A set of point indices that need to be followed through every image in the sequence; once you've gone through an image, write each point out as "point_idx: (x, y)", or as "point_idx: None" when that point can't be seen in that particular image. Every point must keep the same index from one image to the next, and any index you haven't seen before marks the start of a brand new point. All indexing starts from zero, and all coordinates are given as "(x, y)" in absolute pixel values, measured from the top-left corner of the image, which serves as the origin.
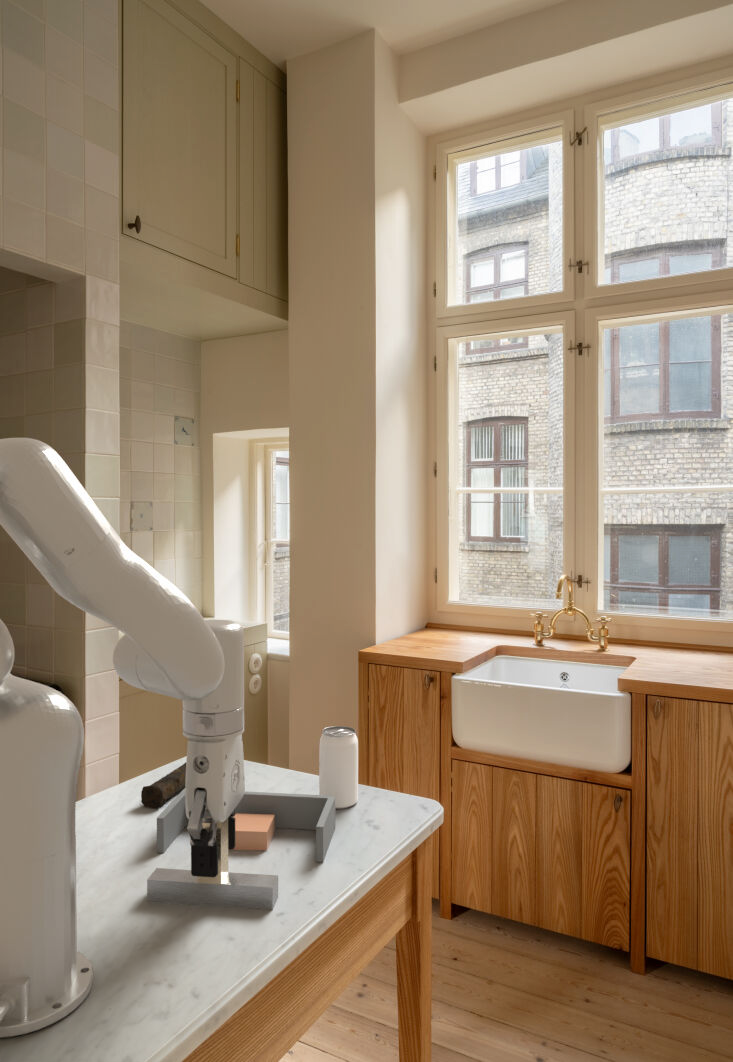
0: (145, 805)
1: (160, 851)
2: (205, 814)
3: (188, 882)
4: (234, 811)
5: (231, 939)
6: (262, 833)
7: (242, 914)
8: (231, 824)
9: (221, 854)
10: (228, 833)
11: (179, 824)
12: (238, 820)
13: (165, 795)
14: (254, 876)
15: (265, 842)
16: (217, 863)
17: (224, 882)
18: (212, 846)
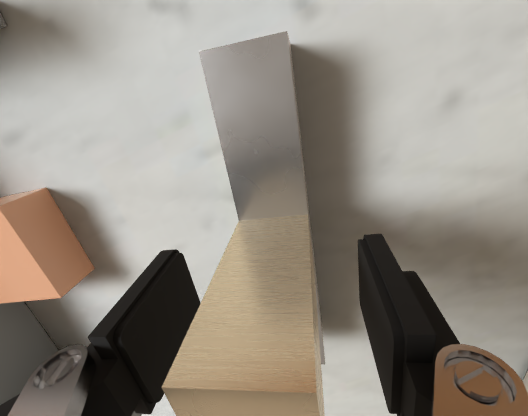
0: None
1: None
2: (26, 345)
3: (316, 290)
4: (53, 366)
5: (457, 98)
6: (10, 216)
7: (330, 123)
8: (132, 325)
9: (302, 270)
10: (159, 302)
11: None
12: (5, 289)
13: None
14: (234, 136)
15: (29, 198)
16: (386, 259)
17: (296, 209)
18: (489, 352)
